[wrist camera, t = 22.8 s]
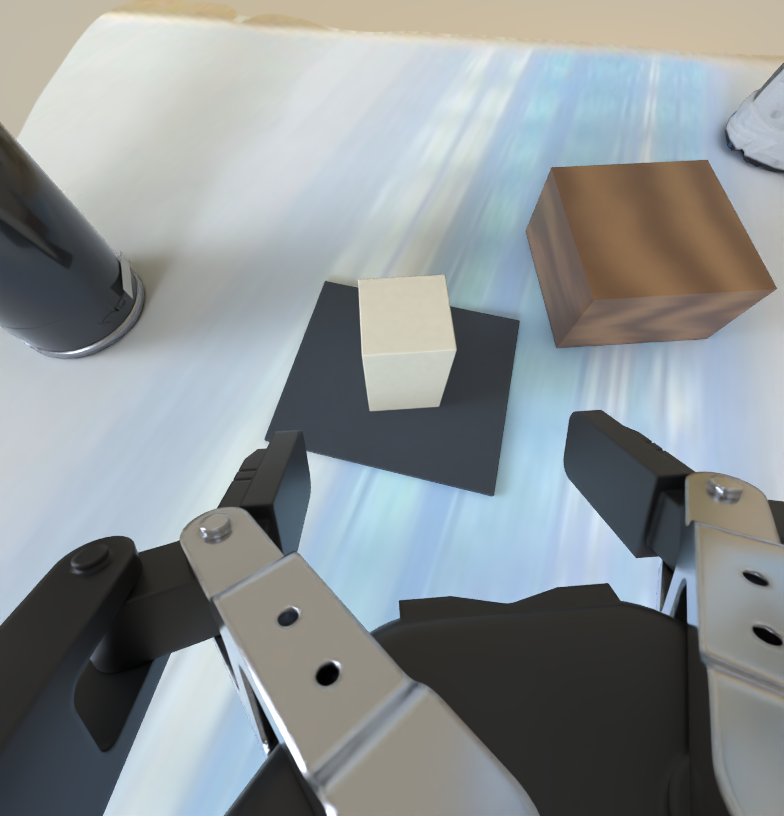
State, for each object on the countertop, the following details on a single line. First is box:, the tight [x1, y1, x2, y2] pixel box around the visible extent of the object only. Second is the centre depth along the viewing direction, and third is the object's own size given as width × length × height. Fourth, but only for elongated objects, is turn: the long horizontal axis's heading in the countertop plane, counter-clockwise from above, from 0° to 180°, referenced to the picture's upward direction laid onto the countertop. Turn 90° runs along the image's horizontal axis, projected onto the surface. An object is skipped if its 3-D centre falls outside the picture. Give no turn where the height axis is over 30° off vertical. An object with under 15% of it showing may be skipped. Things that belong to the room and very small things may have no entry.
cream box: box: [358, 275, 457, 411], centre depth 25 cm, size 5×5×8 cm
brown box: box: [526, 160, 777, 348], centre depth 30 cm, size 12×12×6 cm
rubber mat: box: [265, 281, 519, 496], centre depth 29 cm, size 16×14×1 cm
